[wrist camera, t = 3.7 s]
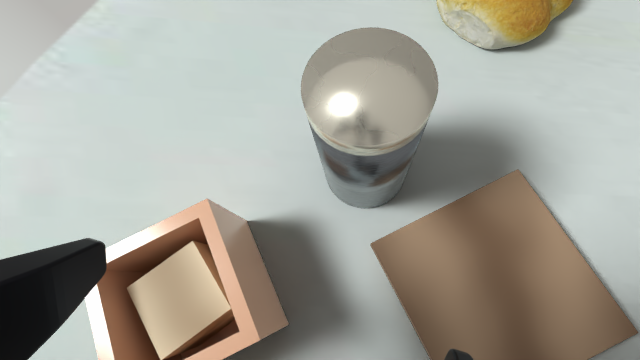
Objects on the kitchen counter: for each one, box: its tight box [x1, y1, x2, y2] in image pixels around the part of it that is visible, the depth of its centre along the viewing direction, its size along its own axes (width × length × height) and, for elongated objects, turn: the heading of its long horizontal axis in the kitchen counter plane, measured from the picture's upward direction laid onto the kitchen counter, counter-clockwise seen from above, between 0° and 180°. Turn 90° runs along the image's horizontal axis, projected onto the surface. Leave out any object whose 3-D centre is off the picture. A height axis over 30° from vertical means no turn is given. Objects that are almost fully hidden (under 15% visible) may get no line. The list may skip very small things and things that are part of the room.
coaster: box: [370, 170, 638, 360], centre depth 19 cm, size 10×10×1 cm
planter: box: [85, 199, 289, 360], centre depth 18 cm, size 7×7×6 cm
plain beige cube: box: [127, 241, 235, 360], centre depth 19 cm, size 4×4×4 cm
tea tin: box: [301, 28, 438, 208], centre depth 18 cm, size 5×5×10 cm
